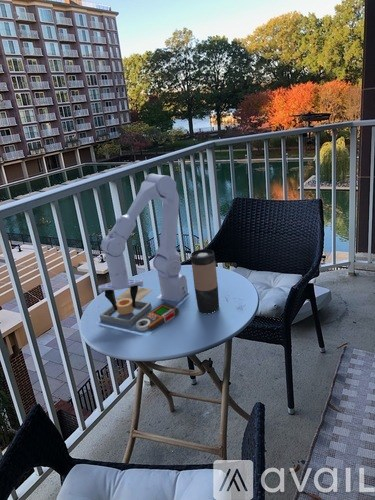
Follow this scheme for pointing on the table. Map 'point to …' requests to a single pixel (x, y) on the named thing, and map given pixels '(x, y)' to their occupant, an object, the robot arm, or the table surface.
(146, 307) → the tray
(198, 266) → the travel mug
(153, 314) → the electronic device
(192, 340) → the table surface
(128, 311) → the ring
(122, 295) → the tan square plate
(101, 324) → the table surface
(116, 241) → the robot arm
